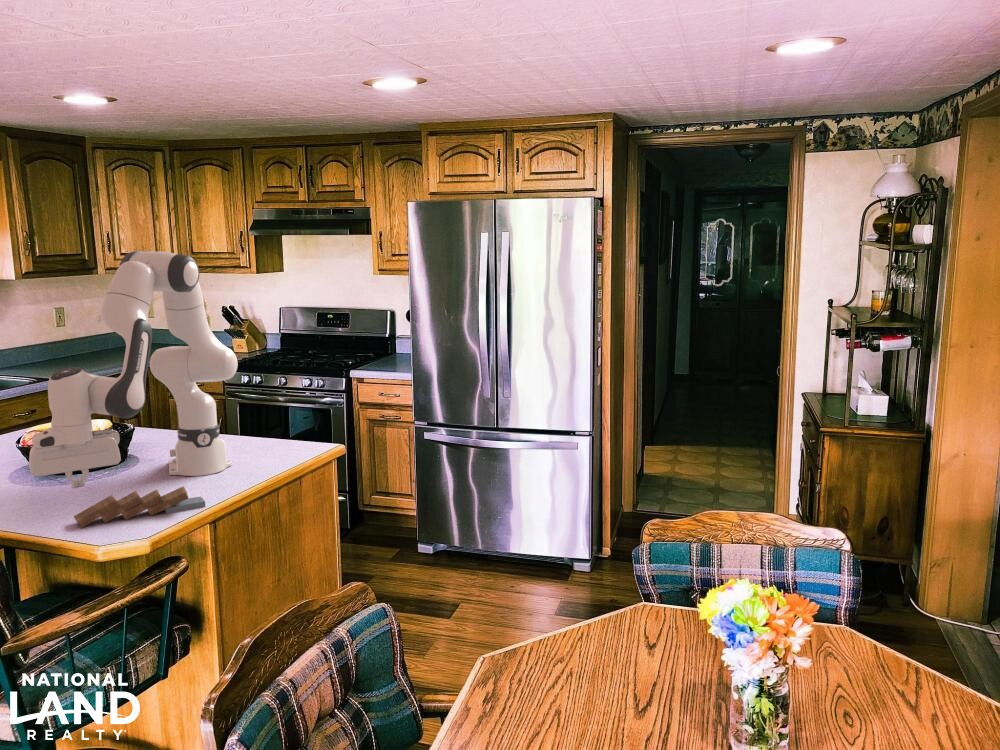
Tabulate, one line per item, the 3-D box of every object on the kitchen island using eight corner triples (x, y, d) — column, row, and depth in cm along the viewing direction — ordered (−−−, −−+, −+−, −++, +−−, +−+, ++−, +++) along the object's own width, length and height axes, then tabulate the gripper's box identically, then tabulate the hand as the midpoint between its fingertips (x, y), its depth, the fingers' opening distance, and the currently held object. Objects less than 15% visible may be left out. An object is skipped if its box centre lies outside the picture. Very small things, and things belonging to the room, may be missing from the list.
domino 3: (121, 513, 204) (159, 494, 209) (119, 508, 209) (156, 489, 213) (125, 520, 205) (163, 500, 209) (123, 514, 209) (160, 495, 213)
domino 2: (100, 516, 202) (138, 495, 206) (98, 511, 206) (135, 490, 210) (104, 523, 203) (142, 501, 207) (102, 517, 207) (139, 496, 211)
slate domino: (165, 508, 210) (205, 501, 215) (161, 503, 214) (200, 496, 219) (166, 515, 210) (205, 508, 216) (162, 510, 214) (201, 503, 220)
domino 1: (76, 521, 199) (115, 499, 203) (73, 516, 203) (111, 494, 207) (81, 528, 199) (119, 506, 204) (77, 522, 203) (115, 501, 208)
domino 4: (147, 509, 207) (185, 492, 210) (146, 503, 212) (183, 486, 215) (150, 515, 208) (188, 498, 211) (150, 509, 212) (186, 492, 216)
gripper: (116, 425, 206) (121, 476, 209) (25, 436, 195) (31, 490, 198) (120, 430, 201) (125, 482, 204) (27, 442, 190) (33, 498, 193)
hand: (78, 486), depth 201 cm, fingers closed
